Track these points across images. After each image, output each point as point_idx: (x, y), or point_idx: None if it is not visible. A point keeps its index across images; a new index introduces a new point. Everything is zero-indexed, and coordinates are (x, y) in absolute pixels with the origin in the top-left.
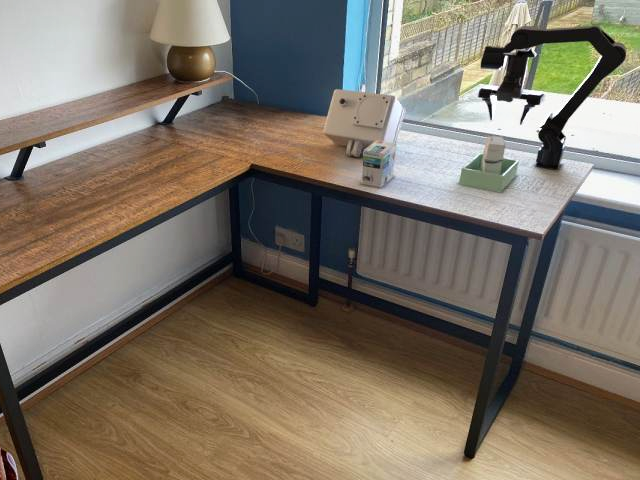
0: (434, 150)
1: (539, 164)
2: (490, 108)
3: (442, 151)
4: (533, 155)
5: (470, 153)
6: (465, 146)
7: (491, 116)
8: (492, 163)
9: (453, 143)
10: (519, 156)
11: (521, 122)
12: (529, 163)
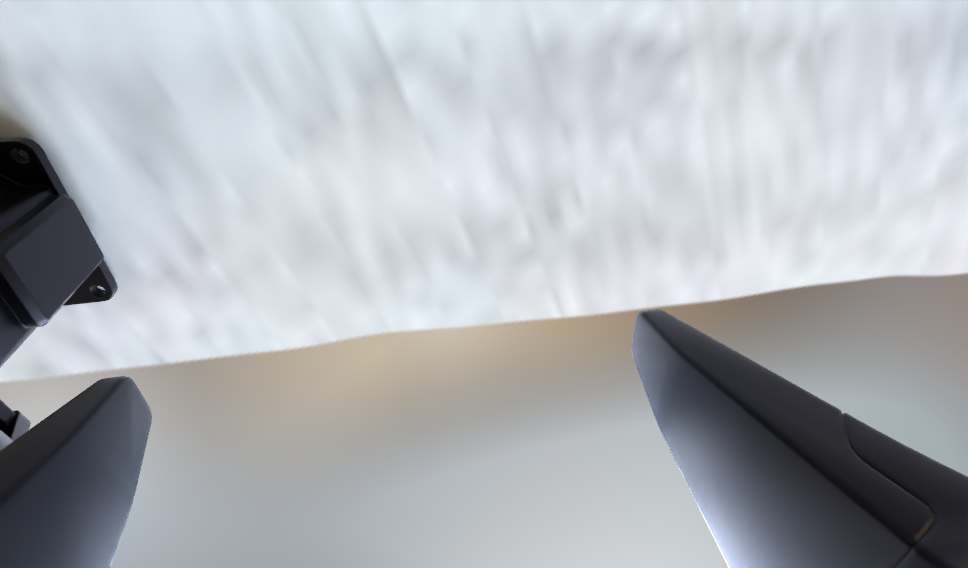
0: (934, 2)
1: (4, 161)
2: (851, 456)
3: (865, 20)
4: (230, 341)
5: (636, 116)
6: (698, 237)
7: (683, 344)
8: None
9: (783, 243)
10: (292, 273)
11: (70, 406)
12: (131, 176)
